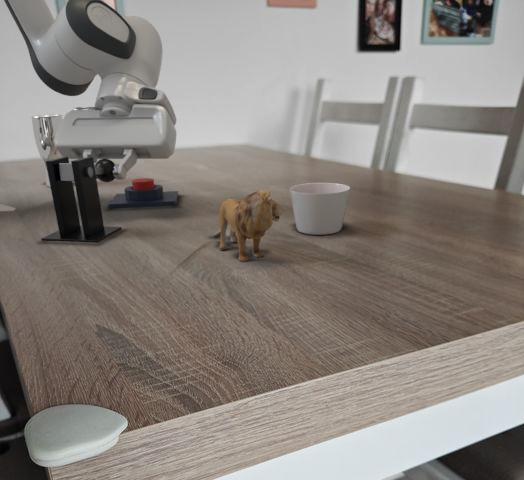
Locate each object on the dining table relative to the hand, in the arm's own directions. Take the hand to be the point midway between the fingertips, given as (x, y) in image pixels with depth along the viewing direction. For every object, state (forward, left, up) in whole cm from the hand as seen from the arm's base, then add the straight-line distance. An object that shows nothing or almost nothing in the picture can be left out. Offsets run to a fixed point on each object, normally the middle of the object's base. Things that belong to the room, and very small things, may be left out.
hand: (104, 177), depth 88 cm
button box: (+4, +14, -8) cm, 17 cm away
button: (+4, +14, -5) cm, 16 cm away
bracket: (-3, -9, -8) cm, 12 cm away
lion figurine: (+21, -20, -8) cm, 30 cm away
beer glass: (-19, +43, -8) cm, 48 cm away
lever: (-1, -4, 0) cm, 4 cm away
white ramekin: (+33, -10, -8) cm, 35 cm away
